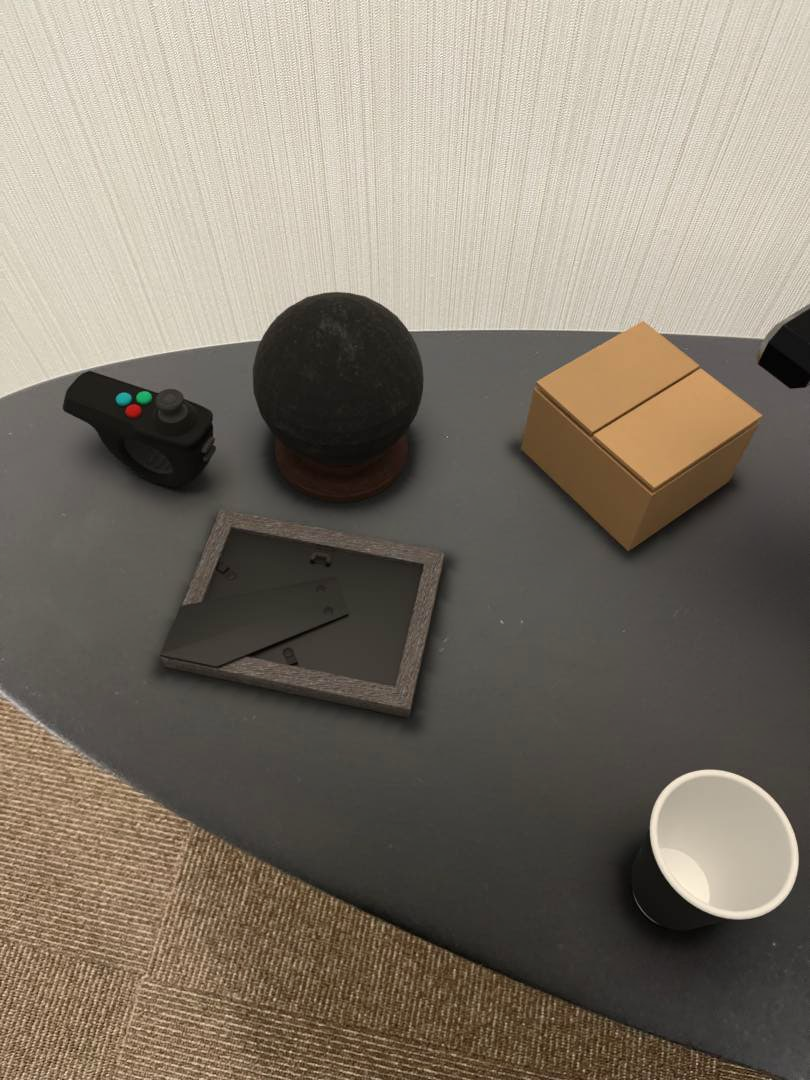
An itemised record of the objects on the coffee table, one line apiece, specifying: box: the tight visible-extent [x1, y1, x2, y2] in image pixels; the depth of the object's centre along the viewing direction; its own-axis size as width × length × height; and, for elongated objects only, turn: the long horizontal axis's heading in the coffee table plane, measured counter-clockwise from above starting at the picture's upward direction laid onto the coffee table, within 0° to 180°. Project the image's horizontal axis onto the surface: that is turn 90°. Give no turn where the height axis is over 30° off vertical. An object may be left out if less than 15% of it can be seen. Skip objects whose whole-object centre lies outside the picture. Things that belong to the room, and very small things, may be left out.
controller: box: [62, 370, 217, 487], centre depth 71 cm, size 4×12×10 cm, turn 67°
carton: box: [520, 320, 761, 552], centre depth 74 cm, size 13×12×8 cm
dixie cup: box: [630, 769, 800, 932], centre depth 53 cm, size 8×8×11 cm
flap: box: [593, 367, 763, 491], centre depth 69 cm, size 6×12×1 cm, turn 127°
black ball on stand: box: [252, 291, 424, 504], centre depth 71 cm, size 13×13×15 cm
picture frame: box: [159, 508, 446, 719], centre depth 67 cm, size 13×2×18 cm
